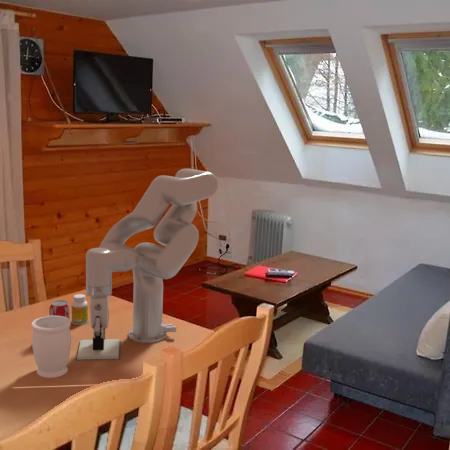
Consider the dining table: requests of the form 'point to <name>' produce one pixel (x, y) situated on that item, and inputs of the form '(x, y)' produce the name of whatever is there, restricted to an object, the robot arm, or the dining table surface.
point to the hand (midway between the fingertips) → (99, 344)
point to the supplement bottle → (79, 310)
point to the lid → (88, 353)
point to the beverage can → (60, 309)
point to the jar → (51, 345)
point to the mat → (101, 359)
